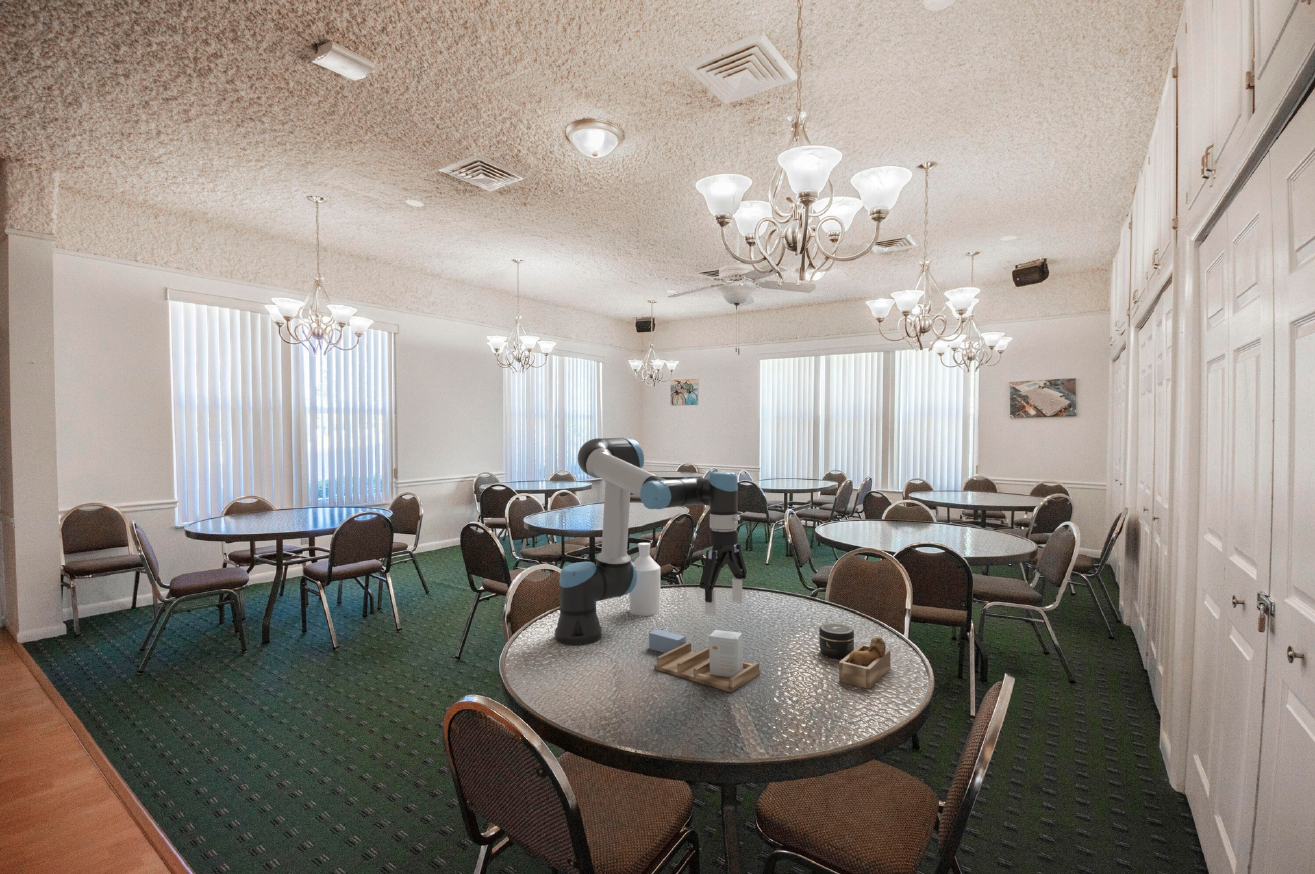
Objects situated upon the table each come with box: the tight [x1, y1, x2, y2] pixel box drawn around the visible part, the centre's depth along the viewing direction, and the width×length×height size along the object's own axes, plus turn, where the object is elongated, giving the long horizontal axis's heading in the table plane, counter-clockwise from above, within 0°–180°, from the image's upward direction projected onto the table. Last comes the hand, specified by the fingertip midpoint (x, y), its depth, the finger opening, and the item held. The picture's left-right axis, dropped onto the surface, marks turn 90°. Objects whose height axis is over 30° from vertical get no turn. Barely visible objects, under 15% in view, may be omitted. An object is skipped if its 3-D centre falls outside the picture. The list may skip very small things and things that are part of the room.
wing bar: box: [648, 629, 687, 654], centre depth 179 cm, size 4×11×5 cm, turn 52°
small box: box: [708, 629, 744, 678], centre depth 159 cm, size 8×6×10 cm
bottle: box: [628, 542, 661, 617], centre depth 219 cm, size 12×12×25 cm
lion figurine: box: [848, 636, 887, 667], centre depth 159 cm, size 15×5×9 cm, turn 122°
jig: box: [654, 641, 761, 693], centre depth 163 cm, size 25×15×4 cm, turn 52°
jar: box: [818, 622, 855, 660], centre depth 175 cm, size 10×10×8 cm
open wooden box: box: [838, 643, 892, 690], centre depth 159 cm, size 8×17×5 cm, turn 142°
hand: (724, 608), depth 159 cm, fingers open, 13 cm apart
